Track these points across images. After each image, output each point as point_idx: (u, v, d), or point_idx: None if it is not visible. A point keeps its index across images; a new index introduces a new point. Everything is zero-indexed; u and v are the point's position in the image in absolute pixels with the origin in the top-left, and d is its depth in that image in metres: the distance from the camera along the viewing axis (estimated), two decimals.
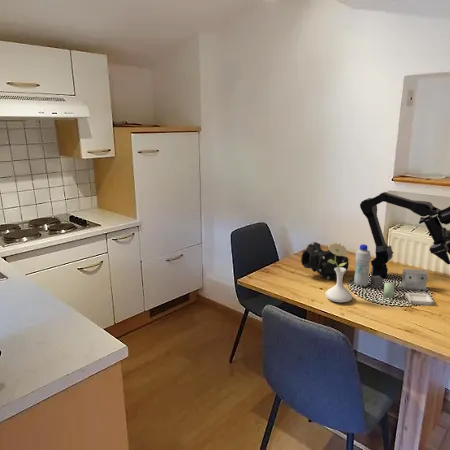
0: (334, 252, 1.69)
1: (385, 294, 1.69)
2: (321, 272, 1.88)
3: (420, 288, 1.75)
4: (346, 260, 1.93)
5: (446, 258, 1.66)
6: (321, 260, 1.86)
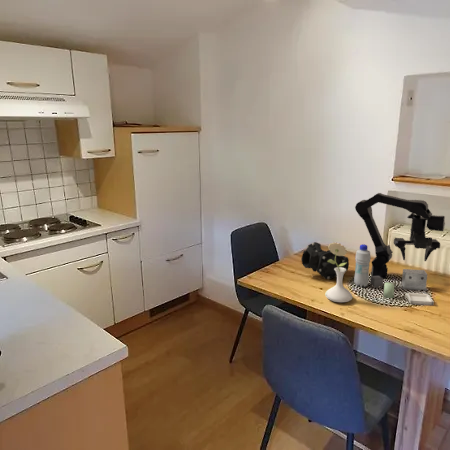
0: (334, 252, 1.69)
1: (385, 294, 1.69)
2: (321, 272, 1.88)
3: (420, 288, 1.75)
4: (346, 260, 1.93)
5: (402, 255, 1.82)
6: (321, 260, 1.86)
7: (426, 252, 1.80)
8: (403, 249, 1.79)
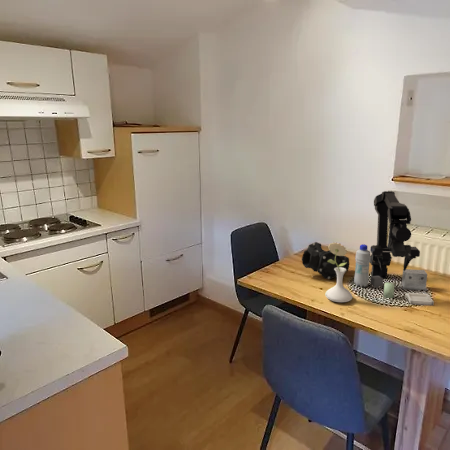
0: (334, 252, 1.69)
1: (385, 294, 1.69)
2: (322, 272, 1.88)
3: (420, 288, 1.75)
4: (347, 260, 1.93)
5: (380, 263, 1.67)
6: (322, 260, 1.86)
7: (405, 261, 1.66)
8: (380, 257, 1.65)
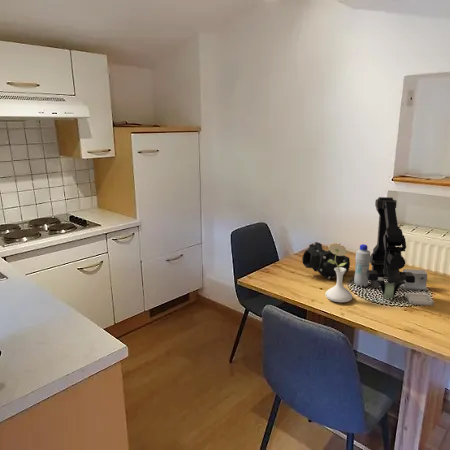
0: (334, 252, 1.69)
1: (385, 294, 1.69)
2: (322, 272, 1.88)
3: (420, 288, 1.75)
4: (347, 260, 1.93)
5: (381, 288, 1.69)
6: (322, 260, 1.86)
7: (395, 285, 1.68)
8: (382, 283, 1.67)
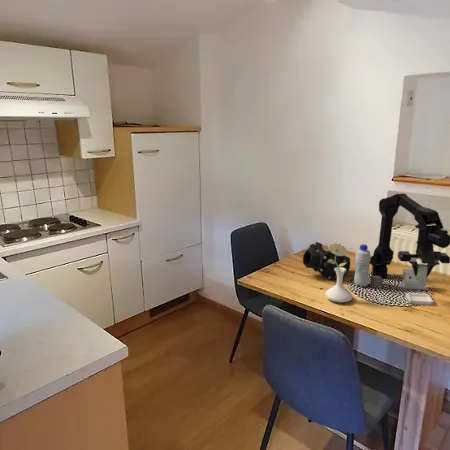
0: (334, 252, 1.69)
1: (418, 276, 1.62)
2: (322, 272, 1.88)
3: (420, 288, 1.75)
4: (348, 260, 1.93)
5: (414, 270, 1.63)
6: (322, 260, 1.86)
7: (428, 267, 1.62)
8: (415, 264, 1.60)
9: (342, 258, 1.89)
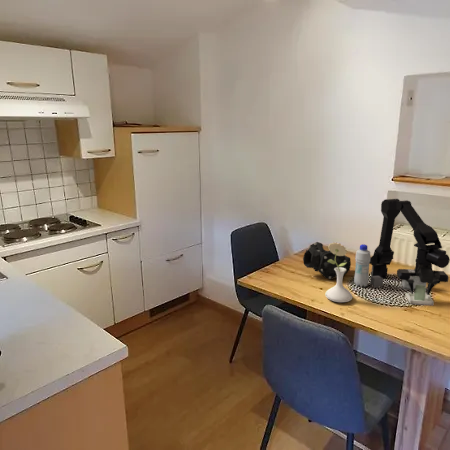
0: (334, 252, 1.69)
1: (416, 297, 1.64)
2: (323, 272, 1.88)
3: None
4: (348, 260, 1.93)
5: (410, 288, 1.65)
6: (323, 260, 1.86)
7: (429, 285, 1.64)
8: (411, 282, 1.62)
9: (342, 258, 1.89)
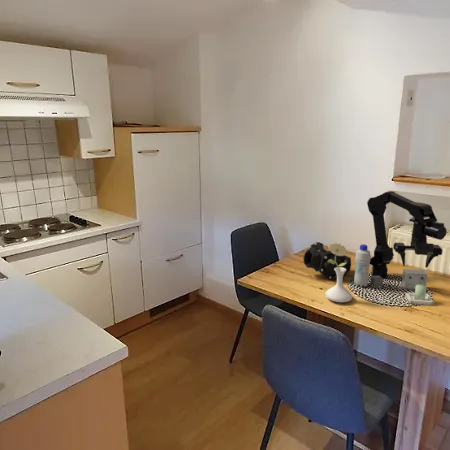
0: (334, 252, 1.69)
1: (416, 297, 1.64)
2: (323, 272, 1.88)
3: None
4: (349, 260, 1.93)
5: (402, 260, 1.73)
6: (323, 260, 1.87)
7: (427, 258, 1.71)
8: (403, 254, 1.70)
9: (343, 258, 1.89)
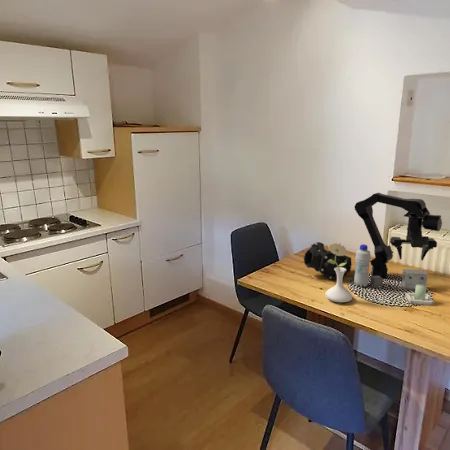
0: (334, 252, 1.69)
1: (416, 297, 1.64)
2: (323, 272, 1.88)
3: None
4: (349, 260, 1.93)
5: (399, 254, 1.80)
6: (323, 260, 1.87)
7: (423, 251, 1.78)
8: (399, 248, 1.77)
9: (343, 258, 1.89)
